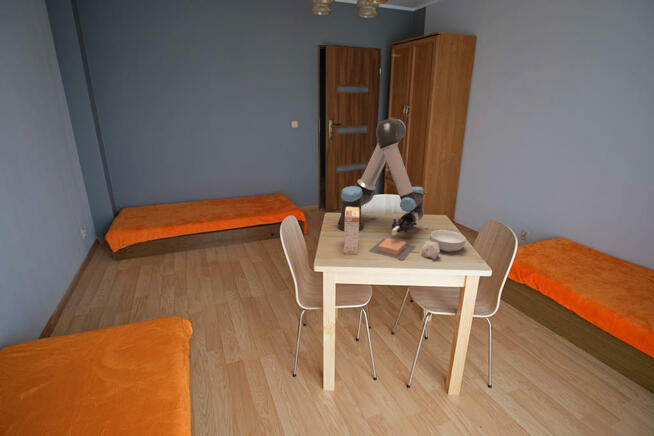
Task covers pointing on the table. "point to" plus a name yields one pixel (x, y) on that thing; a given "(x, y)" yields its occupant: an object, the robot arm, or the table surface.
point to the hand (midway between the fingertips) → (393, 232)
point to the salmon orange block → (391, 246)
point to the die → (431, 249)
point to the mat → (401, 255)
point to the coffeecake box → (351, 230)
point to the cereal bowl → (448, 240)
